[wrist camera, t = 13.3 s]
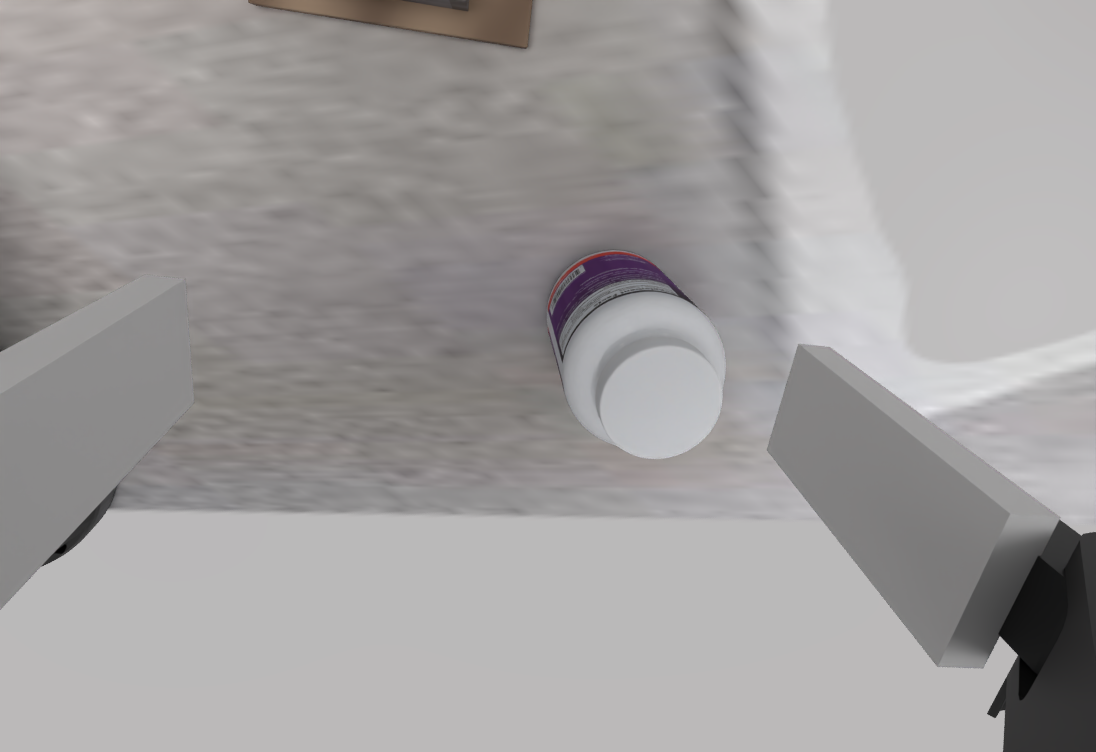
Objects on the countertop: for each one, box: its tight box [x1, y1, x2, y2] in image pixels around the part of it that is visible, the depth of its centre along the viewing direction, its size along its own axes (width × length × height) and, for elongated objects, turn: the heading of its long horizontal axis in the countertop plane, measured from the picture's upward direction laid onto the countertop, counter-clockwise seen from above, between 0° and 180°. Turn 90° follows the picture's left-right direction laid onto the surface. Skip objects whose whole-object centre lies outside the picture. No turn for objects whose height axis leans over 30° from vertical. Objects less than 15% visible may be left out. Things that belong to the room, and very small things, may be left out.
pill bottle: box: [547, 250, 726, 459], centre depth 36 cm, size 8×8×14 cm
